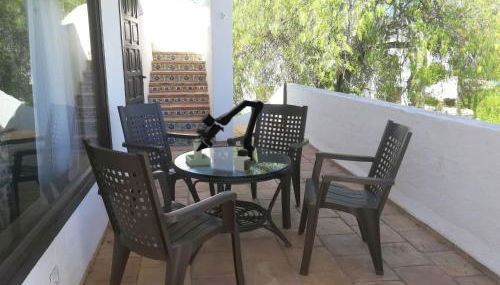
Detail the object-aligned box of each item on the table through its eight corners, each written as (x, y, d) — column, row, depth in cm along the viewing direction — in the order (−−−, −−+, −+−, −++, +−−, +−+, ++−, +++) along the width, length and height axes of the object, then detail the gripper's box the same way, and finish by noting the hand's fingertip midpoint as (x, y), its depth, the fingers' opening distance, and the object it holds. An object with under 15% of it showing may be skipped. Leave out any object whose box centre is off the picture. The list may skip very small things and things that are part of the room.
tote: (185, 161, 250) (185, 154, 249) (204, 160, 254) (204, 153, 254) (190, 167, 237) (190, 159, 236) (210, 165, 241) (210, 158, 240)
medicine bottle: (244, 172, 227) (244, 151, 225) (234, 170, 231) (234, 150, 228) (250, 169, 233) (250, 149, 231) (240, 167, 237) (240, 148, 234)
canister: (203, 160, 245) (203, 140, 243) (197, 162, 242) (197, 141, 239) (198, 159, 249) (198, 139, 246) (192, 160, 245) (191, 140, 242)
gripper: (199, 121, 251) (183, 139, 249) (207, 125, 233) (189, 144, 232) (211, 132, 255) (195, 150, 253) (220, 137, 238) (202, 156, 236)
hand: (195, 150), depth 243 cm, fingers closed on canister, 5 cm apart
